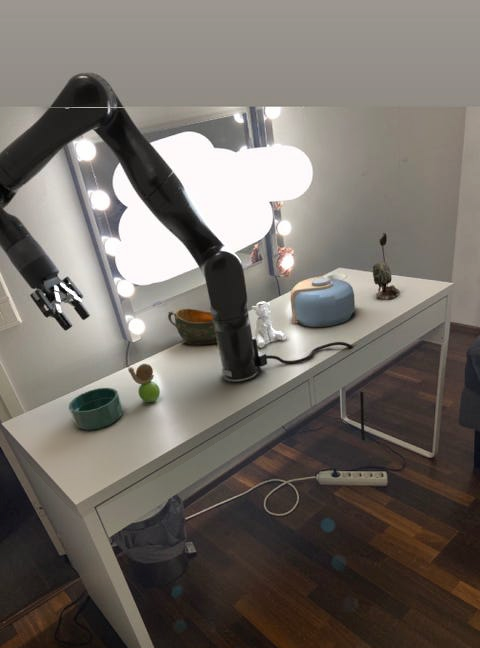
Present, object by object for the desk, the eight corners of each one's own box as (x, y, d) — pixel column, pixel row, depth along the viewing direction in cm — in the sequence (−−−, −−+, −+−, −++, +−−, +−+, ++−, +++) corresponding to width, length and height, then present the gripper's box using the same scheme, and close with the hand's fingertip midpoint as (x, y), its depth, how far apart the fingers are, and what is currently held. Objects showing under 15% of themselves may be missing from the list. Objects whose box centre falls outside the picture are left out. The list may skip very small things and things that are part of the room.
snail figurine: (134, 403, 129) (121, 362, 123) (155, 393, 132) (143, 352, 126) (145, 409, 125) (131, 367, 119) (165, 399, 128) (154, 357, 122)
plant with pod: (365, 300, 167) (363, 238, 156) (386, 289, 172) (385, 229, 162) (385, 303, 161) (384, 239, 150) (406, 292, 166) (406, 230, 156)
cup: (201, 327, 170) (195, 299, 165) (239, 338, 156) (233, 307, 151) (171, 341, 164) (164, 312, 159) (207, 353, 150) (200, 321, 145)
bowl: (113, 401, 133) (106, 383, 130) (131, 416, 124) (125, 397, 121) (70, 420, 127) (62, 401, 125) (86, 437, 118) (78, 417, 116)
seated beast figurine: (259, 349, 146) (253, 310, 140) (246, 341, 153) (240, 304, 147) (287, 339, 149) (282, 301, 143) (273, 332, 156) (268, 295, 149)
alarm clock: (316, 303, 172) (313, 268, 165) (366, 309, 158) (365, 272, 152) (281, 323, 161) (276, 287, 155) (332, 331, 148) (329, 292, 142)
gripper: (24, 259, 104) (74, 324, 109) (59, 248, 117) (102, 307, 122) (3, 278, 108) (52, 340, 112) (39, 265, 120) (82, 322, 125)
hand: (78, 323), depth 117 cm, fingers open, 8 cm apart
